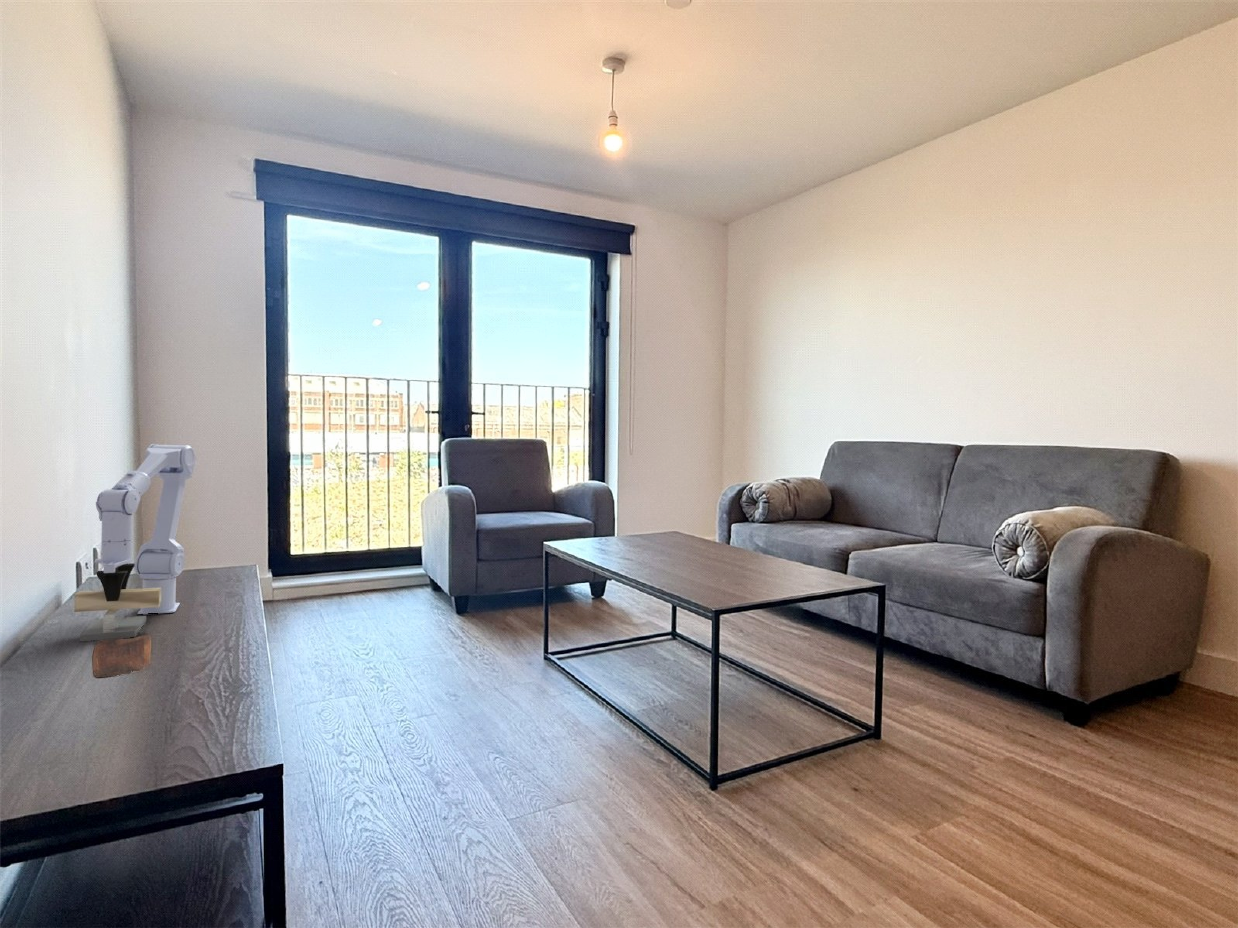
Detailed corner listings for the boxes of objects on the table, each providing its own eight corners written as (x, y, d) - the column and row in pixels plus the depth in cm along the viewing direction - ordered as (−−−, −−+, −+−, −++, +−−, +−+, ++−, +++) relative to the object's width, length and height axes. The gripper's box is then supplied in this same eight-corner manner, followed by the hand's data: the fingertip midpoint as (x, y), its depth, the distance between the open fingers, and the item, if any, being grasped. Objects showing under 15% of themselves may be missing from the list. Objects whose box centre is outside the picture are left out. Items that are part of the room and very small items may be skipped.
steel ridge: (116, 618, 161) (116, 601, 161) (126, 617, 162) (126, 601, 162) (103, 632, 150) (103, 615, 150) (113, 631, 151) (114, 614, 150)
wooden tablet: (151, 667, 131) (87, 669, 126) (149, 678, 131) (85, 680, 126) (152, 633, 153) (97, 633, 147) (150, 642, 153) (96, 643, 147)
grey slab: (96, 625, 160) (96, 619, 160) (146, 621, 164) (146, 615, 164) (80, 641, 147) (80, 635, 147) (134, 637, 152) (135, 631, 152)
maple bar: (78, 608, 154) (78, 591, 154) (160, 603, 161) (161, 587, 161) (74, 612, 151) (74, 594, 151) (158, 607, 158) (159, 590, 158)
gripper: (103, 536, 160) (102, 592, 160) (87, 545, 147) (86, 606, 147) (138, 535, 163) (137, 590, 164) (126, 544, 150) (124, 604, 151)
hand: (115, 597), depth 156 cm, fingers open, 6 cm apart
